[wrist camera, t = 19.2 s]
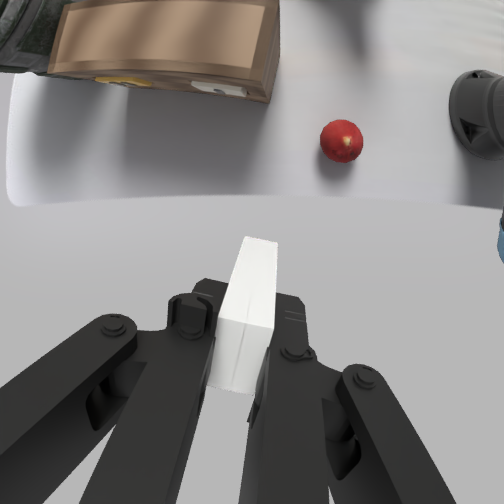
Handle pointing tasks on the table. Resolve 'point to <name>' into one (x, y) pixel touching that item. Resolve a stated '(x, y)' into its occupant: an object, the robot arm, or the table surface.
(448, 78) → the table surface
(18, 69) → the canister
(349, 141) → the onion
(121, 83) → the button two
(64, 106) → the table surface
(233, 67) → the console
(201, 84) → the button one
